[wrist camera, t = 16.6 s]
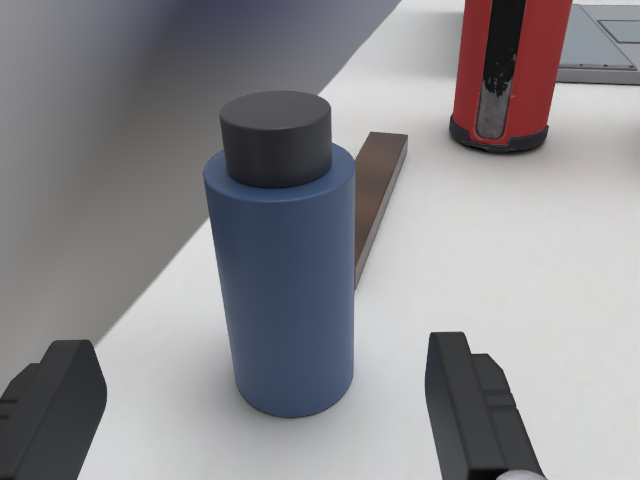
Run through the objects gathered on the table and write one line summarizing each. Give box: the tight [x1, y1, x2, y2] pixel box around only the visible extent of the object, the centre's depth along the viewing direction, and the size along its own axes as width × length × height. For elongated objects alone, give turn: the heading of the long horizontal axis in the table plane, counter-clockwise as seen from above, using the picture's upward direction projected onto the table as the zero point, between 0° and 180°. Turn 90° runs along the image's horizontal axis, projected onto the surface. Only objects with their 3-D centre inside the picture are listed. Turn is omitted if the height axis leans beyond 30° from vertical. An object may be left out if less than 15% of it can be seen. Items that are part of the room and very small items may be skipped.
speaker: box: [449, 0, 573, 153], centre depth 40 cm, size 8×8×18 cm
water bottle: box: [203, 91, 355, 417], centre depth 21 cm, size 5×5×12 cm
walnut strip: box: [354, 132, 408, 290], centre depth 36 cm, size 18×3×2 cm, turn 164°
